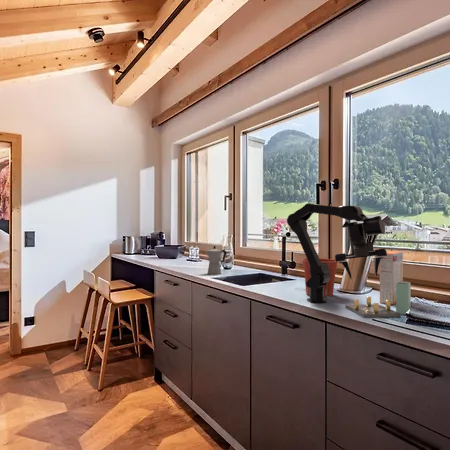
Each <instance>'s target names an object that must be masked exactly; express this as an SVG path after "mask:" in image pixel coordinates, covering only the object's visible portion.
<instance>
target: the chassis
mask: <svg viewBox="0 0 450 450" xmlns="http://www.w3.org/2000/svg"><path fill="white" fill-rule="evenodd" d="M359 302H360V301H359V299H357V298H356V299H353V304H345V305H344V306H345V307H344V308H345V309H346V310H348V311H349V312H353V313H355V314H356V315H358V316H360V317H362V318H365V319H367V318H368V319H369V318H370V319H371V318H401V314H400V313H398V312H396V310H393V309H391V305H392V304H391V300H386V304H385V306H383V305H381V304H379V303H380V302H373V303H372V296H366V304H360V303H359Z"/></svg>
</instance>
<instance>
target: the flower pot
mask: <svg viewBox="0 0 450 450" xmlns="http://www.w3.org/2000/svg"><path fill="white" fill-rule="evenodd" d="M319 259H320V261H321V262H322V263H323V264H327V265H328V268H329V270H330V271H331V273H330V274H331V278H330V280H329V282H327V285H326V286H323V287H324V298H326V297H327V298H328V297H333V296H334V289H335V281H336V271H337V268H338V263H339V261H337V262H336V261H335V259H331V258H319ZM301 261H302V266H303V271H304V272H303V273H304V284H305V294H306V295H309V296H310V288H308V287H307V286H306V282H307V281H308V280H309V279H310V278H311V275H310V264H309V262H308V260H307V258H301Z"/></svg>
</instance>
